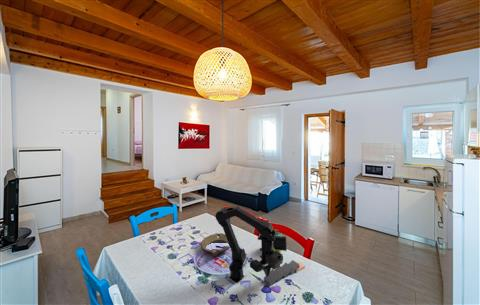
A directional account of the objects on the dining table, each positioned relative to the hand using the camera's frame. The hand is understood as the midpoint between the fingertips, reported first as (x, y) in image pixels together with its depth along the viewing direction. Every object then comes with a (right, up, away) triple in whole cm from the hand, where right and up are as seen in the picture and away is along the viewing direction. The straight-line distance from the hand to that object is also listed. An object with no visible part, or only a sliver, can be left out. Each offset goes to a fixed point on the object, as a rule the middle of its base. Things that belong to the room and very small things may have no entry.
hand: (267, 275), depth 109 cm
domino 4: (+13, -2, +9) cm, 16 cm away
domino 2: (+4, -3, +3) cm, 6 cm away
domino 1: (0, -3, 0) cm, 3 cm away
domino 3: (+9, -3, +6) cm, 11 cm away
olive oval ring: (-31, -2, +33) cm, 46 cm away
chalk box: (+9, -2, +31) cm, 32 cm away
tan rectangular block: (+17, -3, +11) cm, 20 cm away
